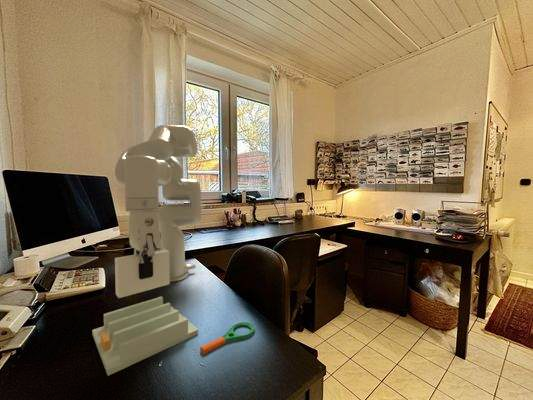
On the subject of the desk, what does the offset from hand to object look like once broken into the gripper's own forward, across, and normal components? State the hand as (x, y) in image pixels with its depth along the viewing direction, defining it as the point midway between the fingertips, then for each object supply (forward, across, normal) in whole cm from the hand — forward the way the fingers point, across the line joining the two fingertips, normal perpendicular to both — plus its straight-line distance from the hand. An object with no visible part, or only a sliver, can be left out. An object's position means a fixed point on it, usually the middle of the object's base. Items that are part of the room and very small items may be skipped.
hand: (143, 275), depth 61 cm
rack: (+16, 0, 0) cm, 16 cm away
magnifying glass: (+16, -16, -15) cm, 28 cm away
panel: (+4, 0, 0) cm, 4 cm away
